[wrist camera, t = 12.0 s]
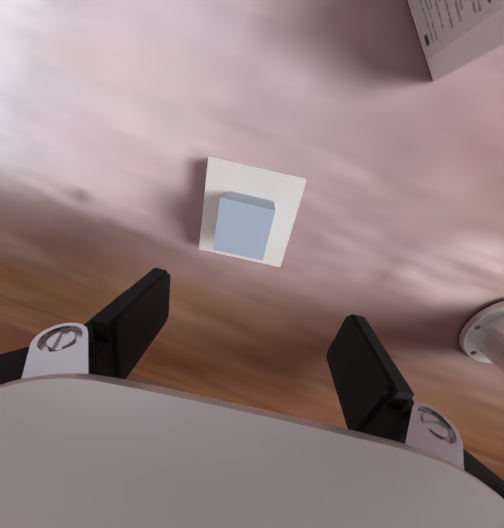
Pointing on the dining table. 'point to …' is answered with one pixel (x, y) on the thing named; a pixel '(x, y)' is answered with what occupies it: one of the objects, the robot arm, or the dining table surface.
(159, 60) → the dining table surface
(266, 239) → the blue block
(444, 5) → the container
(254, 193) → the base tile
